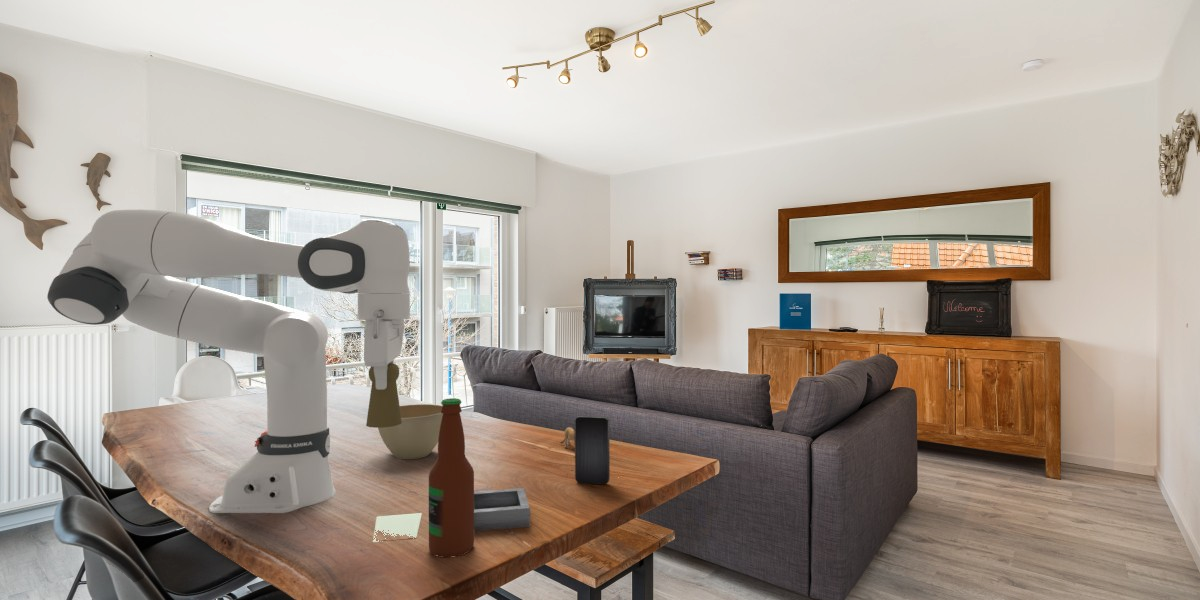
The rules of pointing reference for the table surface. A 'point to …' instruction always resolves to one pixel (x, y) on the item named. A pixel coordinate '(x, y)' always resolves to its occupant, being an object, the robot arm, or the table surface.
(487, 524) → the grey square tray
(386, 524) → the mat
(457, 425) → the bottle
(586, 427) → the phone
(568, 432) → the lion figurine
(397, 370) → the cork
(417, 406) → the cream bowl
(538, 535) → the table surface
